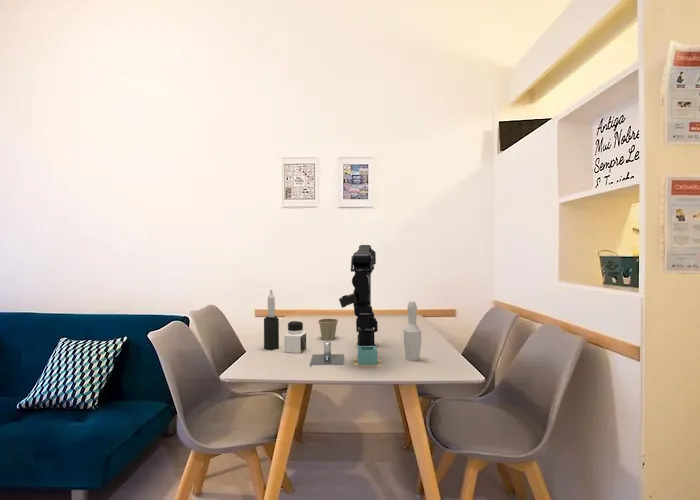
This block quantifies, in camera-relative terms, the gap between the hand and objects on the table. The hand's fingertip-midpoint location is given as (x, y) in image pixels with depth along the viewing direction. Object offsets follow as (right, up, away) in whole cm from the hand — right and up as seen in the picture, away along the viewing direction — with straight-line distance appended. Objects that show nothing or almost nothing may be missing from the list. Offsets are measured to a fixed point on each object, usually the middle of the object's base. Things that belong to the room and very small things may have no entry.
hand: (362, 329), depth 140 cm
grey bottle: (+19, -12, +3) cm, 23 cm away
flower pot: (-15, -13, +38) cm, 43 cm away
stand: (+2, -12, -1) cm, 12 cm away
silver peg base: (-13, -12, +2) cm, 18 cm away
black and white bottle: (-38, -13, +21) cm, 45 cm away
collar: (+2, -12, -1) cm, 12 cm away
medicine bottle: (-27, -13, +18) cm, 35 cm away
